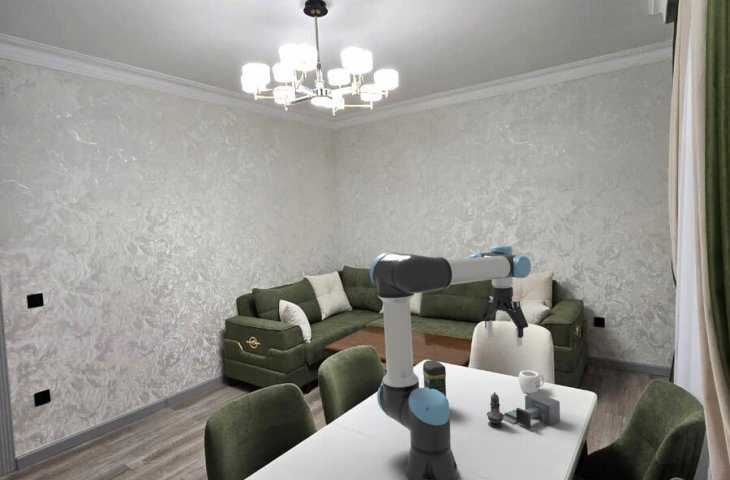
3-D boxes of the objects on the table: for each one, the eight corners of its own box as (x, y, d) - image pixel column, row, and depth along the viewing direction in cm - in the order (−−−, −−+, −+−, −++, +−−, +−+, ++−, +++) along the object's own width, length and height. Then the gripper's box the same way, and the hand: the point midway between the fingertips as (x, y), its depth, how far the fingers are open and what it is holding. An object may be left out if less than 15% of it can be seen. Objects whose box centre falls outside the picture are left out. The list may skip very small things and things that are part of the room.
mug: (529, 397, 166) (528, 378, 166) (514, 389, 174) (514, 371, 174) (551, 391, 171) (551, 373, 170) (536, 384, 179) (536, 366, 178)
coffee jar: (450, 412, 156) (448, 365, 155) (431, 415, 154) (429, 367, 153) (439, 401, 166) (438, 357, 165) (421, 404, 164) (420, 359, 163)
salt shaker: (485, 426, 145) (484, 393, 144) (488, 419, 150) (487, 387, 149) (502, 430, 142) (501, 396, 141) (505, 422, 147) (504, 390, 146)
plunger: (528, 427, 141) (528, 413, 140) (504, 416, 150) (503, 402, 149) (545, 420, 145) (544, 406, 145) (520, 409, 154) (519, 396, 154)
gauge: (533, 434, 138) (533, 413, 138) (499, 417, 151) (498, 398, 150) (559, 421, 146) (559, 401, 146) (525, 406, 158) (524, 387, 158)
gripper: (537, 289, 145) (538, 347, 146) (483, 281, 166) (485, 332, 167) (524, 291, 141) (525, 351, 142) (470, 283, 162) (472, 335, 163)
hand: (503, 341), depth 155 cm, fingers open, 13 cm apart
